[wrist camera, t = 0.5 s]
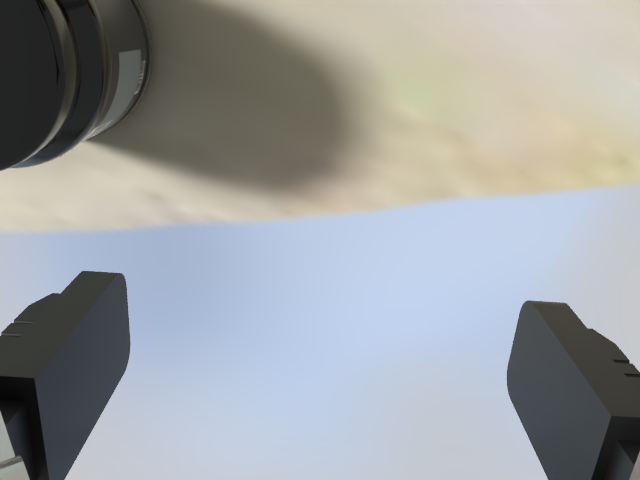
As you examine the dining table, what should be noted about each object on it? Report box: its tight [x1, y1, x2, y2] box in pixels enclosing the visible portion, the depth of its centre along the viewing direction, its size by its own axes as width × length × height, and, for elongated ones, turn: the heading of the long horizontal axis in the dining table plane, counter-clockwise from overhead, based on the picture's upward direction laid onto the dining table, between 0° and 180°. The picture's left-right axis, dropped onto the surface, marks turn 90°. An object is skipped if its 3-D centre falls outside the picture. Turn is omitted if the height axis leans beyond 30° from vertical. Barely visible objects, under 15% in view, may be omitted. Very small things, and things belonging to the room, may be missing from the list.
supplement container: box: [0, 0, 152, 171], centre depth 28 cm, size 10×10×12 cm
